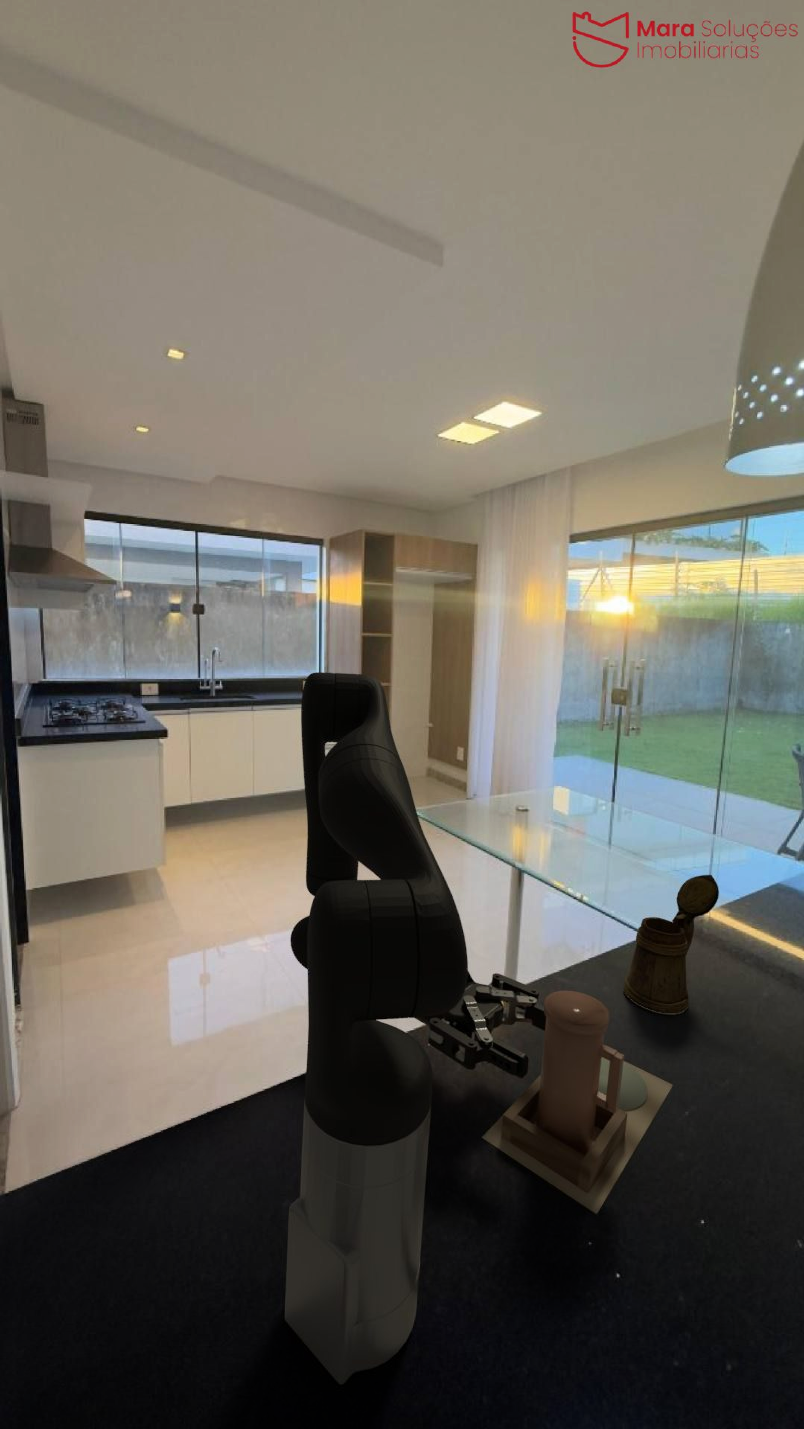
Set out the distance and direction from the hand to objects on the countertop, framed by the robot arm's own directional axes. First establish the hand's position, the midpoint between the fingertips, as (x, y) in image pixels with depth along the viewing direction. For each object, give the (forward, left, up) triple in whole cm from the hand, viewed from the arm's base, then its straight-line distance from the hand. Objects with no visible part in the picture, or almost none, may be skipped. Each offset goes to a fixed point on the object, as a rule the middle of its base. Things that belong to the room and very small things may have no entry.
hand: (546, 1047), depth 63 cm
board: (+5, -3, -9) cm, 11 cm away
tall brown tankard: (0, -3, -8) cm, 9 cm away
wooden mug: (+37, -2, -10) cm, 38 cm away
